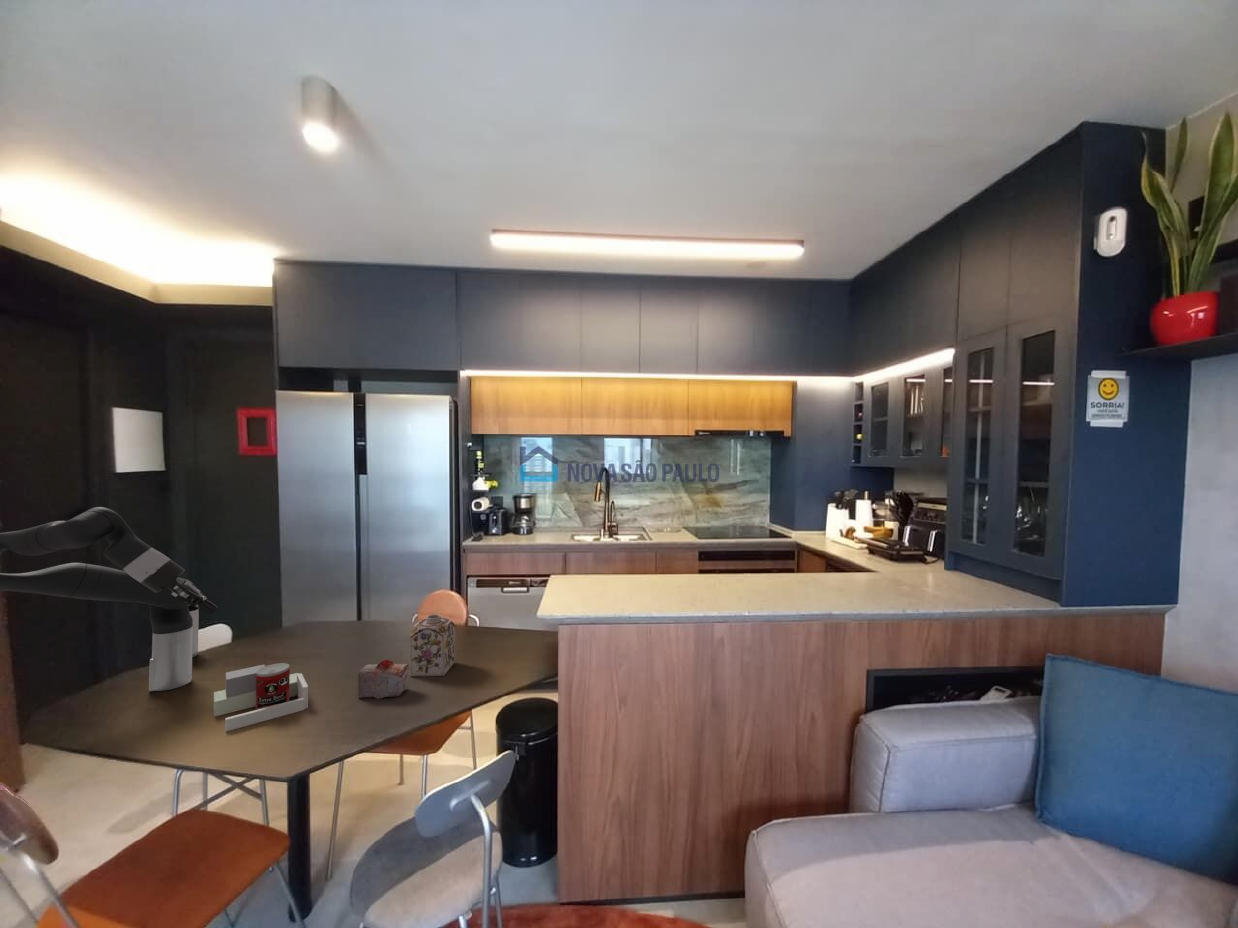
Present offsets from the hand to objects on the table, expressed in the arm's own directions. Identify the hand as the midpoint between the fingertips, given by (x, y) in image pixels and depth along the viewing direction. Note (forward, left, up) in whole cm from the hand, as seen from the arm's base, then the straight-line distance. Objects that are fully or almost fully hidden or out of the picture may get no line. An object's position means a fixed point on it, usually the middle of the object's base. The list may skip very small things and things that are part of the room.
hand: (214, 611), depth 128 cm
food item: (+41, -7, -29) cm, 51 cm away
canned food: (+13, 0, -29) cm, 32 cm away
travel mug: (-17, +62, -29) cm, 71 cm away
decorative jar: (+57, +4, -29) cm, 64 cm away
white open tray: (+10, +2, -29) cm, 31 cm away
